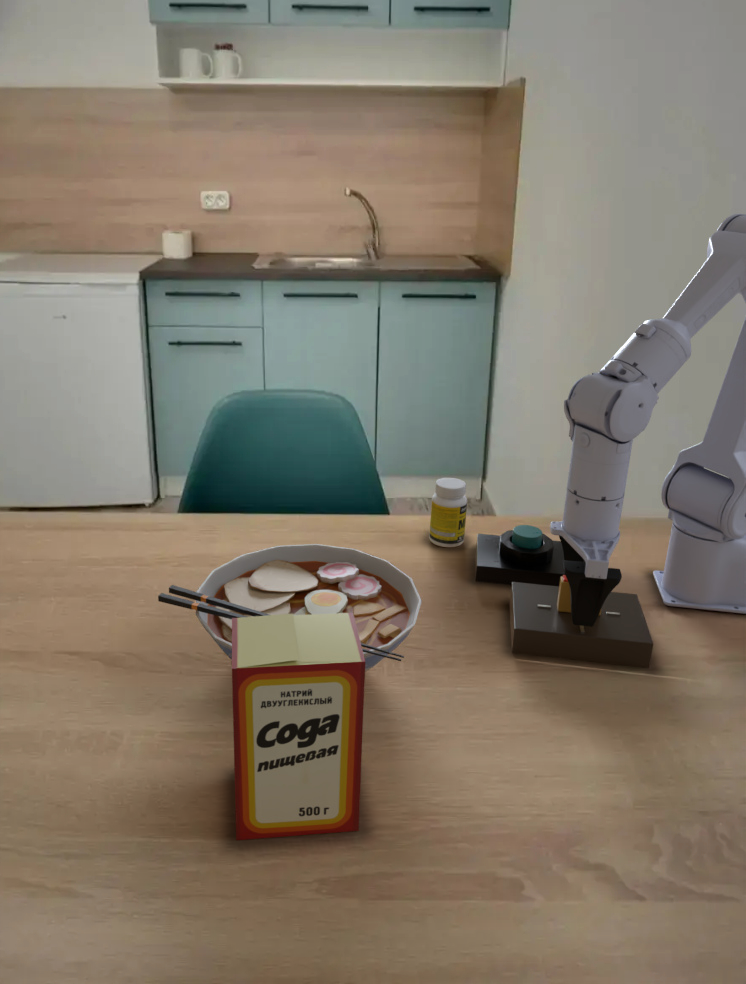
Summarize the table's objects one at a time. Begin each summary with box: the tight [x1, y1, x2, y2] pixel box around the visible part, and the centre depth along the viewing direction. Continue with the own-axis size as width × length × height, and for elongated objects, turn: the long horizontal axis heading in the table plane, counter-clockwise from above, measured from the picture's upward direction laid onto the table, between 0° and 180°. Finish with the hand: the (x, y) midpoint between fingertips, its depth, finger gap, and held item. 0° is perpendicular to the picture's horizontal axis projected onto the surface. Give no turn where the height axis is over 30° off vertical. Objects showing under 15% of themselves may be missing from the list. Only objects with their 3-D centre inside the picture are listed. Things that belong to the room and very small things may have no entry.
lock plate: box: [508, 582, 654, 669], centre depth 91 cm, size 14×10×3 cm
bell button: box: [512, 524, 544, 549], centre depth 104 cm, size 4×4×2 cm
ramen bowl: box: [157, 543, 423, 673], centre depth 85 cm, size 25×23×8 cm
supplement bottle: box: [428, 477, 468, 548], centre depth 111 cm, size 5×5×8 cm
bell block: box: [474, 529, 564, 586], centre depth 104 cm, size 12×9×4 cm
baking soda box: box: [231, 613, 366, 841], centre depth 64 cm, size 10×6×16 cm
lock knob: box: [557, 575, 601, 616], centre depth 90 cm, size 4×1×4 cm, turn 81°
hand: (578, 604), depth 90 cm, fingers open, 7 cm apart
